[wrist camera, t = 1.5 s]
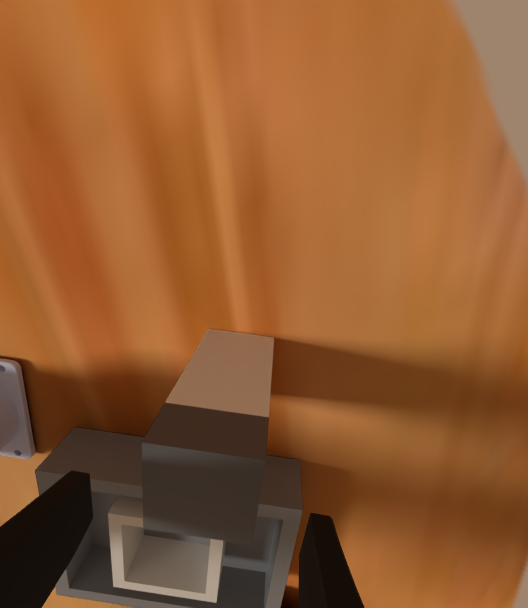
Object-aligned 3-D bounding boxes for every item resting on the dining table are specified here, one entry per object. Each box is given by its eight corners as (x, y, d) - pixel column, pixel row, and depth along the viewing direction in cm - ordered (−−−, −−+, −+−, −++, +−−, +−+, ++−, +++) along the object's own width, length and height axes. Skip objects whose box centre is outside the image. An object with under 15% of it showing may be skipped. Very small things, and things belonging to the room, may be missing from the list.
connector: (204, 384, 19) (143, 528, 11) (208, 328, 18) (141, 442, 10) (266, 393, 19) (252, 544, 11) (274, 337, 18) (265, 460, 9)
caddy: (87, 541, 25) (54, 598, 22) (74, 427, 21) (32, 473, 18) (276, 570, 25) (275, 632, 21) (299, 460, 21) (303, 513, 17)
